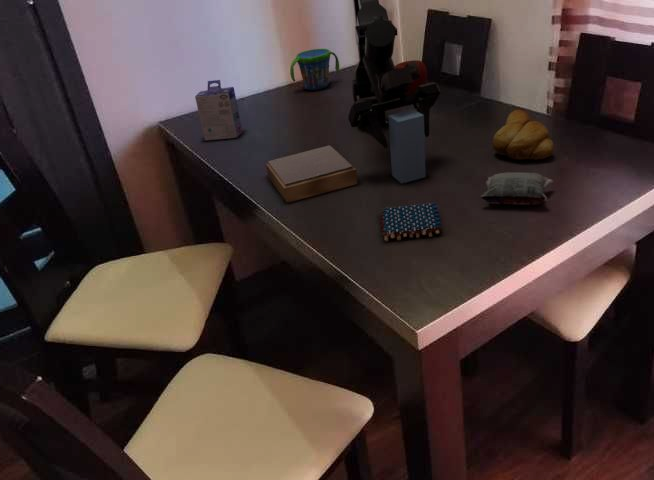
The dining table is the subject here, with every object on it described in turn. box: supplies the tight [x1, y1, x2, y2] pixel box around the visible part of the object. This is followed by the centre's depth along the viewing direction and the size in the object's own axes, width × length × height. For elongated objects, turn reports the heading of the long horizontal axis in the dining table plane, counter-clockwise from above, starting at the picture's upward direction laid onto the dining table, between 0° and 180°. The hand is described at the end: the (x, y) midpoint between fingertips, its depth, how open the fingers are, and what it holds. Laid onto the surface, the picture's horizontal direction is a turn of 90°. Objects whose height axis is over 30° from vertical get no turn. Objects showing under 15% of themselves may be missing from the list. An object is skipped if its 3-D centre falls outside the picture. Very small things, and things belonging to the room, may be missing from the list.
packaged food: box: [480, 171, 554, 206], centre depth 116 cm, size 9×12×5 cm
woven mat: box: [380, 202, 443, 243], centre depth 115 cm, size 10×11×2 cm
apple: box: [395, 59, 428, 96], centre depth 170 cm, size 10×10×10 cm
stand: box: [265, 145, 358, 204], centre depth 138 cm, size 16×16×4 cm
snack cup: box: [289, 48, 340, 91], centre depth 193 cm, size 16×10×10 cm
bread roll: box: [492, 108, 555, 161], centre depth 130 cm, size 13×10×8 cm
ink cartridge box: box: [194, 79, 244, 141], centre depth 169 cm, size 10×6×14 cm, turn 79°
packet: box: [387, 108, 427, 184], centre depth 129 cm, size 6×5×13 cm
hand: (407, 141), depth 128 cm, fingers open, 9 cm apart
